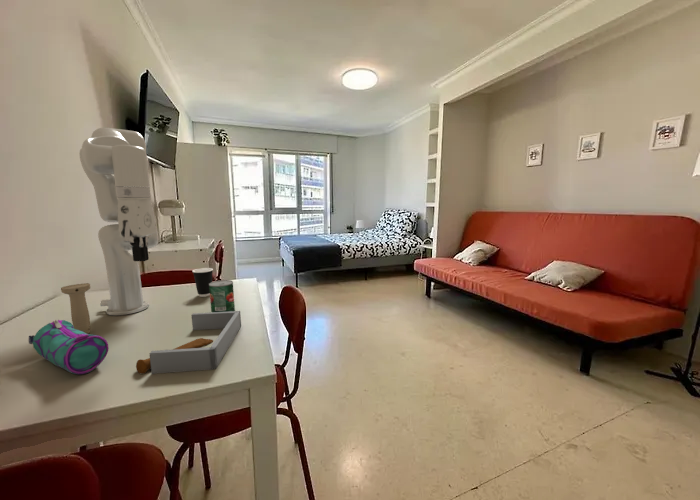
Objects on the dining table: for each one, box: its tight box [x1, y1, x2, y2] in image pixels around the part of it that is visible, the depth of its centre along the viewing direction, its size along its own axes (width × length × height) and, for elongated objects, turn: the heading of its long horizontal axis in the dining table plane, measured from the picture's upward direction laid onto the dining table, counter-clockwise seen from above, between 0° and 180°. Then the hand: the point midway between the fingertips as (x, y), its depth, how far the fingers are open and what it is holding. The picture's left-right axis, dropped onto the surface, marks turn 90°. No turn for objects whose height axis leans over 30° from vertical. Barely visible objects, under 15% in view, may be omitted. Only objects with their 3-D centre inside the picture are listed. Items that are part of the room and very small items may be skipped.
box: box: [149, 310, 242, 374], centre depth 83 cm, size 14×25×5 cm, turn 7°
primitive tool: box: [135, 337, 214, 375], centre depth 78 cm, size 19×6×4 cm, turn 158°
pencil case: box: [28, 319, 109, 375], centre depth 74 cm, size 21×9×10 cm, turn 61°
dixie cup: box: [192, 267, 214, 298], centre depth 129 cm, size 8×8×11 cm
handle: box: [60, 282, 91, 334], centre depth 90 cm, size 5×6×15 cm
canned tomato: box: [209, 279, 236, 312], centre depth 108 cm, size 8×8×11 cm
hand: (141, 260), depth 85 cm, fingers closed
